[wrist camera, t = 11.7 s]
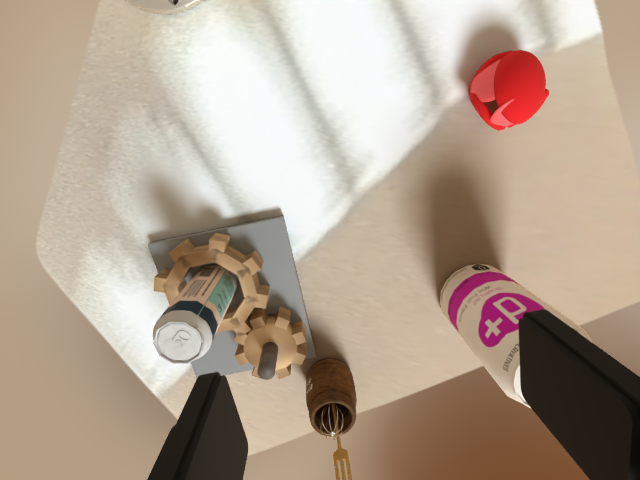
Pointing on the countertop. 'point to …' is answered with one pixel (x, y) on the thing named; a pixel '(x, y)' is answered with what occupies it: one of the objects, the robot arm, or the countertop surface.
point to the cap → (509, 88)
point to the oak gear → (229, 259)
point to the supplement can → (493, 319)
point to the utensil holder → (332, 404)
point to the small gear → (272, 343)
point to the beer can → (195, 315)
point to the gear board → (275, 273)
